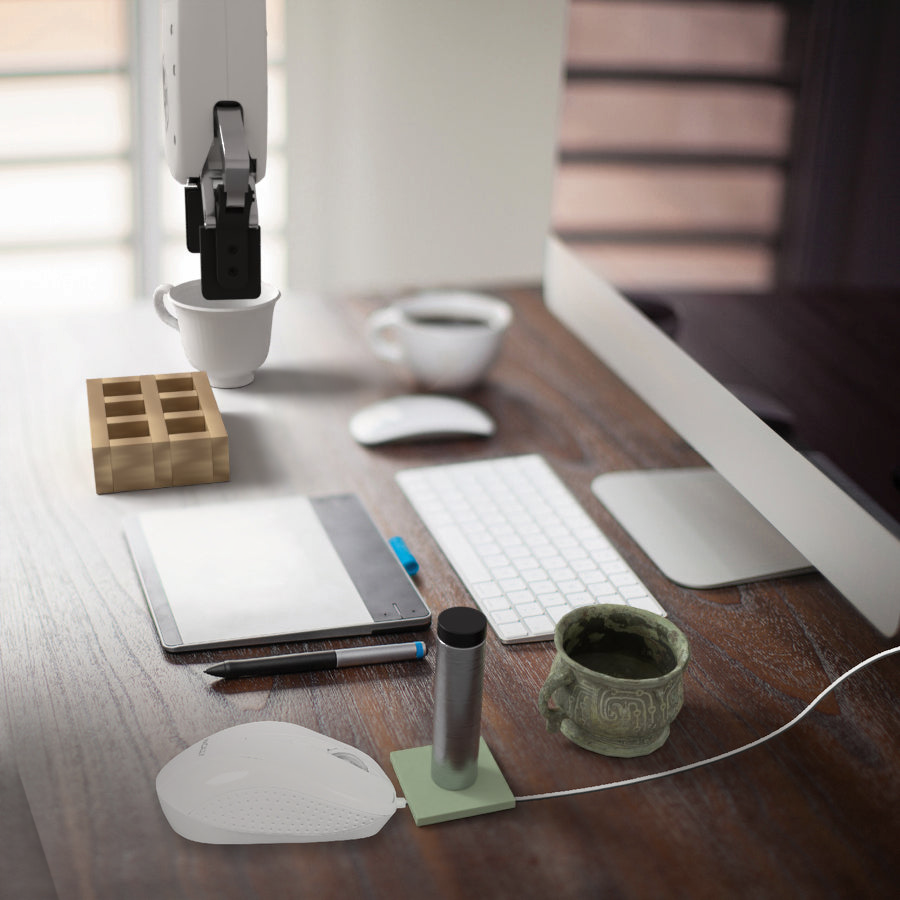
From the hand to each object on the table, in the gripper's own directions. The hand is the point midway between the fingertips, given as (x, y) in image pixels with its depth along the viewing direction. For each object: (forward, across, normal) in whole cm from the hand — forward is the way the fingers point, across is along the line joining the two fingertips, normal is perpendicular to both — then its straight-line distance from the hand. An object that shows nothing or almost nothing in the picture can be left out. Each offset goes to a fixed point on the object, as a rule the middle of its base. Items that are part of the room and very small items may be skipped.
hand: (221, 273), depth 67 cm
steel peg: (+27, +15, +12) cm, 33 cm away
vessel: (+27, +12, +23) cm, 38 cm away
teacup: (+28, -55, +5) cm, 62 cm away
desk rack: (+28, -37, -3) cm, 46 cm away
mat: (+27, +15, +11) cm, 33 cm away
